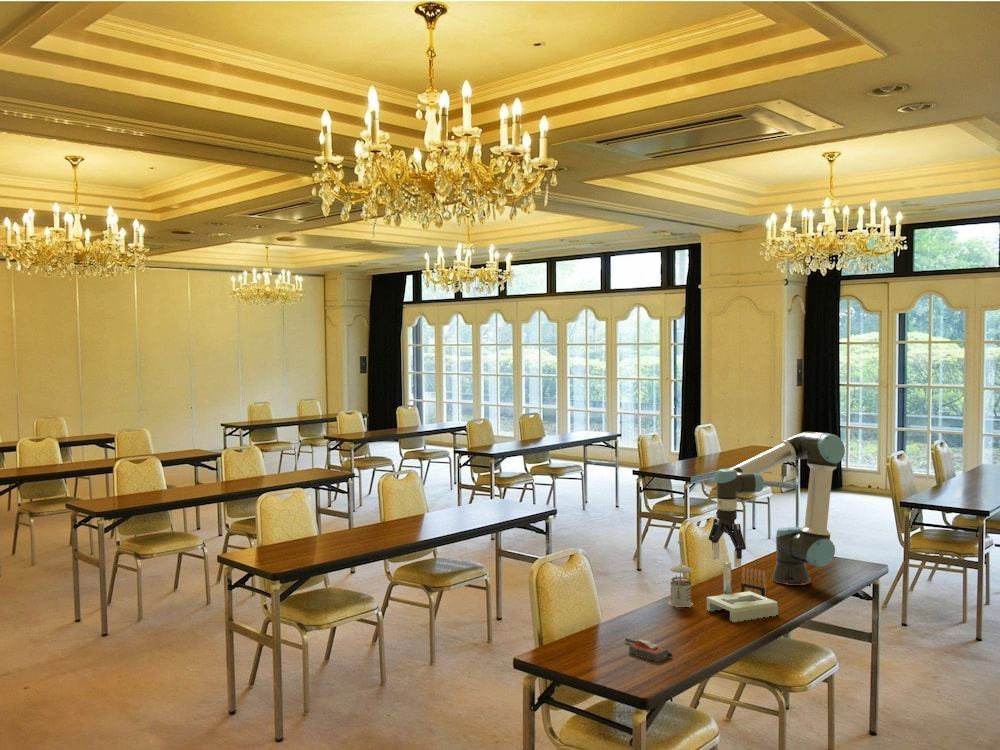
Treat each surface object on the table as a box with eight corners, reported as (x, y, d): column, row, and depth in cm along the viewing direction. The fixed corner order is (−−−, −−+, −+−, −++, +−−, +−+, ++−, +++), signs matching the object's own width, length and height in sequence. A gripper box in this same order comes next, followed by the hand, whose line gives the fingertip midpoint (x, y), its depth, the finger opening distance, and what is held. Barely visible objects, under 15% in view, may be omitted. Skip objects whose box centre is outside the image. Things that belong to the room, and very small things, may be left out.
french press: (696, 602, 320) (695, 538, 320) (689, 610, 310) (689, 544, 309) (671, 599, 324) (670, 536, 324) (664, 607, 314) (663, 542, 313)
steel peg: (728, 598, 325) (728, 560, 325) (737, 601, 320) (737, 563, 320) (717, 599, 323) (717, 562, 323) (726, 603, 318) (725, 565, 318)
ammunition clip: (767, 600, 322) (767, 570, 322) (764, 601, 320) (764, 570, 320) (743, 594, 330) (743, 565, 330) (740, 595, 328) (740, 566, 328)
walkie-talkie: (676, 657, 261) (627, 642, 276) (676, 644, 261) (627, 629, 276) (660, 664, 255) (610, 648, 270) (660, 650, 255) (610, 635, 270)
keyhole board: (749, 603, 317) (749, 590, 317) (777, 615, 302) (777, 601, 302) (706, 610, 310) (706, 596, 309) (733, 622, 295) (733, 608, 295)
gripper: (699, 504, 331) (699, 556, 331) (739, 514, 308) (739, 571, 308) (715, 503, 334) (715, 555, 334) (755, 513, 311) (755, 569, 311)
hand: (726, 562), depth 321 cm, fingers open, 13 cm apart
